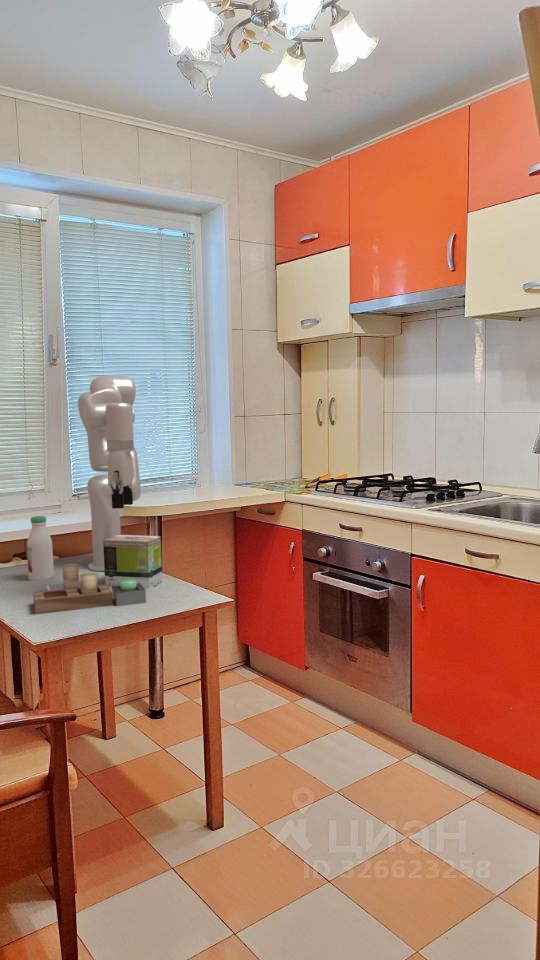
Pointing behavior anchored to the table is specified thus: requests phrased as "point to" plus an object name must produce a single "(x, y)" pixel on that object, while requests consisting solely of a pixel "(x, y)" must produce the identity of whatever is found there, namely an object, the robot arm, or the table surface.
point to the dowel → (70, 576)
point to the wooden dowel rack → (71, 599)
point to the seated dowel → (88, 583)
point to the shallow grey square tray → (57, 586)
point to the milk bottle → (39, 551)
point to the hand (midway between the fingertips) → (122, 506)
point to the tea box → (133, 560)
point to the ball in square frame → (128, 595)
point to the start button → (128, 585)
